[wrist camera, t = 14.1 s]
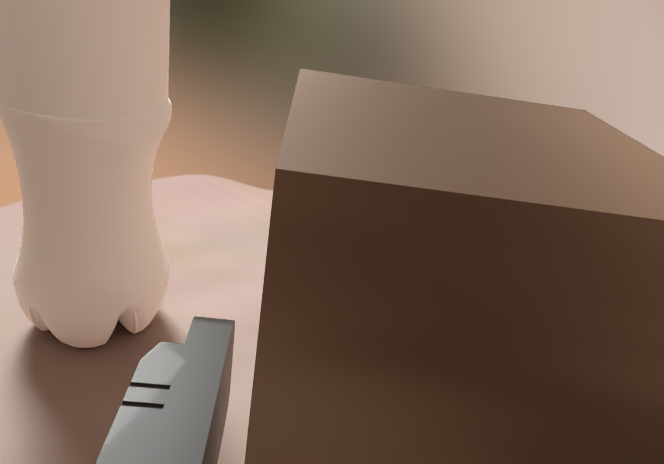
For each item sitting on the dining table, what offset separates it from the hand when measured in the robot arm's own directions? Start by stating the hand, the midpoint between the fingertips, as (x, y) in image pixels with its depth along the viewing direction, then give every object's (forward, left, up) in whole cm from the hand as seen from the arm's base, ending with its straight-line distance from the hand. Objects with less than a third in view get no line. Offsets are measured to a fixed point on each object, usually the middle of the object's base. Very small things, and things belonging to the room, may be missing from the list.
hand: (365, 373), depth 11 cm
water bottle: (-11, +16, -12) cm, 23 cm away
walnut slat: (0, -3, -10) cm, 11 cm away
